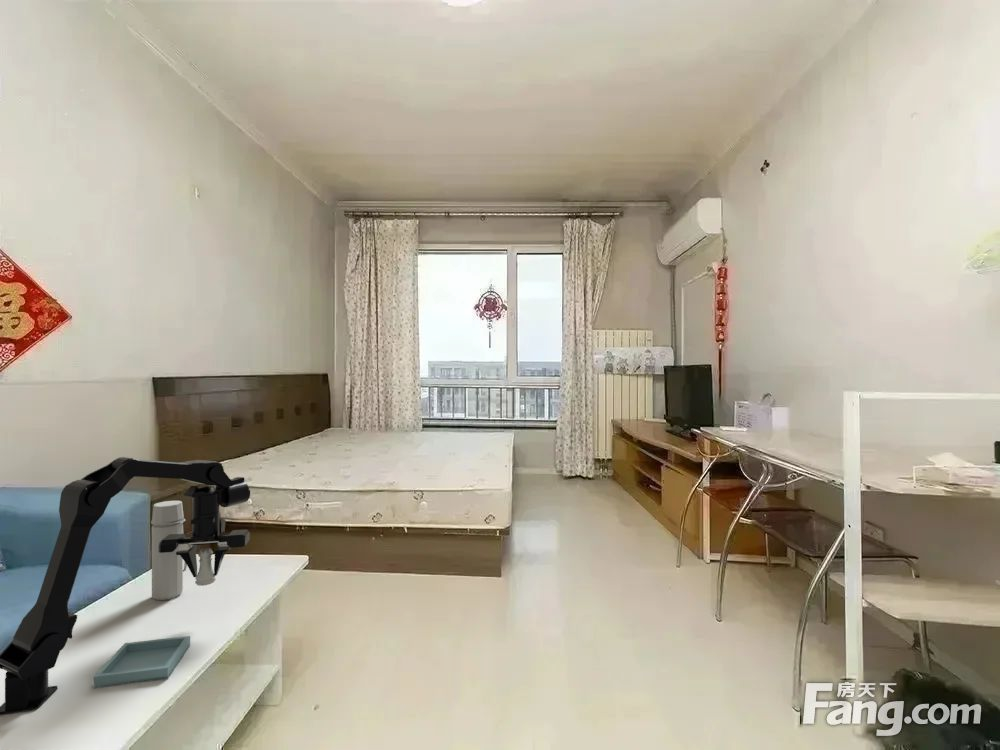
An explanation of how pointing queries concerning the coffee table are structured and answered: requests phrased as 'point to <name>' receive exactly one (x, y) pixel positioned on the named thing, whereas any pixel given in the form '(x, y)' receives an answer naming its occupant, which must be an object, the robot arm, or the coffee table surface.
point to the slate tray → (142, 662)
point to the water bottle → (166, 564)
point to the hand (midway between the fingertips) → (205, 575)
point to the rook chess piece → (205, 568)
